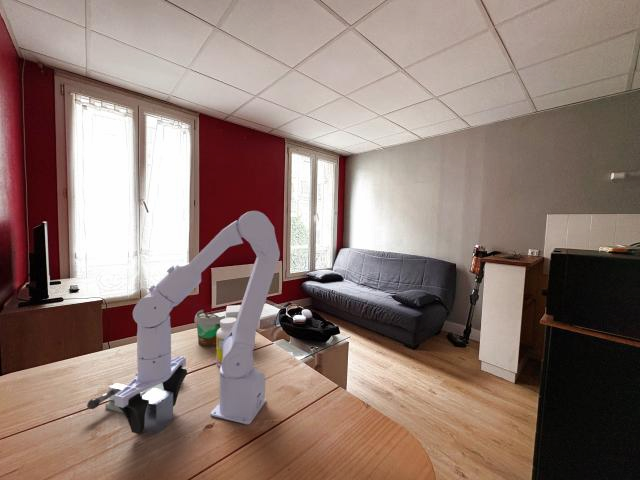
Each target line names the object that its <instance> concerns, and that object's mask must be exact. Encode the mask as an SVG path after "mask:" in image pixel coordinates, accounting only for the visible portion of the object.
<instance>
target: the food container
mask: <svg viewBox="0 0 640 480" xmlns="http://www.w3.org/2000/svg"><path fill="white" fill-rule="evenodd" d="M224 318H226V315H223V316H219V315H216V314H214V313H206V312H204V309H201V310H199V311H197V312H196V314H195V316H194V323H195V324H196V331H197V340H198V341H197V342H198V345H199V346H200V347H204V348H212V347H213V348H214V347H216V333H217V331H218V329H220V328H221V326H220V320H222V319H224Z"/></svg>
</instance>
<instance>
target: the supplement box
mask: <svg viewBox="0 0 640 480" xmlns="http://www.w3.org/2000/svg"><path fill="white" fill-rule="evenodd" d="M240 307H241V304H237V305H227V306H226V309H225V318H236V319H237V316H238V313H239V310H240Z"/></svg>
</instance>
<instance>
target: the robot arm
mask: <svg viewBox="0 0 640 480" xmlns="http://www.w3.org/2000/svg"><path fill="white" fill-rule="evenodd" d="M275 232H276V231H275V226H274V225H273V224H272V222H271V220H270V218H268V216H266V214H264V213H263V212H260V211H259V210H251V211H247V212H246V213H244V214H242V215H240V217H239V218H238V220H235V221H233V222H231V223H230V224H229V225H227V226H226V227H224V228H223V229H221V230H220V232H219V233H218V234H216V235H215V236H214V238H213V239H211V240H210V242H209V243H208V244H207V245H206V246H205V247H204V248H203V249H201V250H200V252H199V253H198V254H197V255H196V256H195V257H194V258H193V259H192V260H191V261H190V262H187V263H183V262H181V263H178V264H177V265H175V266H174V265H172V266H170V268H168V269H167V271H166V272H167V274H166V275H165V276H164V277H163V278H162V279H161V280H160V281H159V282H158V283H157V284H156V285H154V284H152V285H151V286H150V287H149V288H148V291H149V293H146V295H144V296H143V297H142V298H140V299H139V300H138V301H137V302H136V304H135V306H134V308H133V310H132V317H133V318H132V319H133V321H134V322H135V323H136V324H137V331H136V351H137V352H136V355H137V357H136V359H137V360H136V362H137V365H136V366H137V367H136V368H137V371H136V372H135V377H134V378H133V379H132V380H131V381H129V383H128V384H127V386H126V387H125V388H124V389H123V390H121V391H120V392H119V393H117V394H116V395H114V397H115V406H118V407H119V408H120V410H121V411H122V412H123V413H122V414H123V415H124V416H125V418H126V420H127V422H128V425H129V427H130V431H131V433H133V434H136V435H141V434H142V433H143V432H145V431H144V424H145V412H146V408H147V405H148V403H149V400H146V399H142V396H140V394H141V393H142V392H143V391H145V390H147V389H149V388H152V387H154V386H156V385H158V384H160V383H163V388H164V390H165V391H169V392H173V407H175V406H176V404H177V399H178V396H179V392H180V390H181V387H182V385H183V382H184V380H185V378H186V377H187V375H188V369H186V368H184V367H185V366H186V365H187V357H186V356H182V355H178V356H176V357H173V358H172V327H171V315H170V313H171V311H172V310H173V308H174V307H177V306H178V305H179V304H180V303H182V302H183V301H184V299H186V298H187V297H188V296H189V295H190V294H191V293H192V292H193V291H194V290H195V289H196V288H197V287H198V286H199V285H200V284H201V282H202V272H204V271H205V270H206V269H207V268H208V267H209V266H210V265H212V264H213V263H214V261H216V260H217V259H218V258H219V257H220V256H221V255H222V254H223V253H224V252H225V251H226V250H227V249H228V248H230V247H234V246H238V245H242V244H244V241H243V240H242V238H243V239H244V240H246V241H247V242H248V244H250V247H251V249H252V250H253V252H254V253H255V255H256V258H255V261H254V264H253V267H252V270H251V273H250V277H249V279H248V283H247V285H246V289H245V291H244V296H243V298H242V300H241V304H240V305H241V307H240V310H239V313H238V316H237V319H236V322H235V324H234V325H233V327H232V330H231V332H230V334H229V335H228V336H227V337H226V338H225V339H224V341H223V344H222V350H223V360H222V365H221V367H220V366H219V393H218V394H219V400H218V401H219V403H218V404H217V405H216V406H215V407H214V408H213V409H212V410H211V411H210V414H209V415H210V416H212V417H216V418H219V419H224V420H228V421H233V422H236V423H238V424H239V423H240V424H243V425H250V424H251V423H252V422H253V420H255V418H256V416H257V415H258V413H259V412H260V411H261V409H262V407H264V405H265V403H266V401H267V398H266V376H265V372H263V371H261V370H259V369H257V368H256V367H255V365H254V356H253V352H254V347H255V346H256V345H255V343H256V333H257V332H256V331H257V328H258V327H259V326H258V325H259V322H260V319H261V315H262V313H263V309H264V307H265V304H266V301H267V297H268V294H269V291H270V288H271V285H272V282H273V279H274V276H275V272H276V269H277V265H278V263H279V260H280V256H281V253H280V247H279V243H278V242H277V237H276V233H275ZM182 367H183V369H182Z"/></svg>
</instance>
